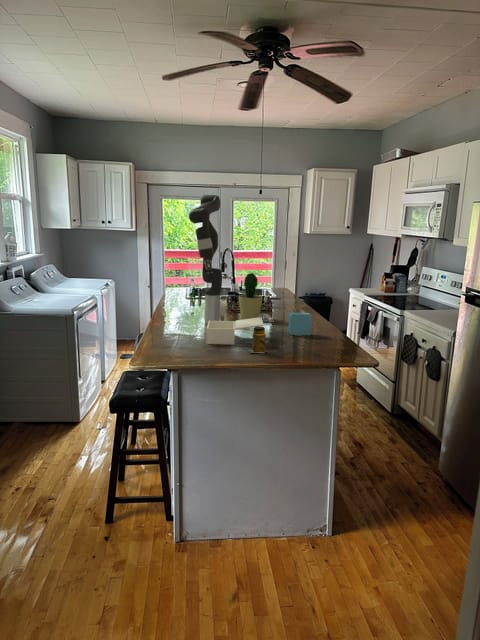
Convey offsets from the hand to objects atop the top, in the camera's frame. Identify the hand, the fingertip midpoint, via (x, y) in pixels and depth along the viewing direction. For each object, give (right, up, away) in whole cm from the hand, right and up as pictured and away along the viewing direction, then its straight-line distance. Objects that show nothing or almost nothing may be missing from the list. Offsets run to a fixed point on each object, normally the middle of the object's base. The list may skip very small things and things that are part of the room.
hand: (211, 279), depth 238 cm
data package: (+49, -30, +11) cm, 58 cm away
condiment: (+23, -37, -24) cm, 50 cm away
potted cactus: (+22, -21, +48) cm, 57 cm away
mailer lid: (+20, -23, -5) cm, 31 cm away
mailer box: (+5, -32, -3) cm, 32 cm away
